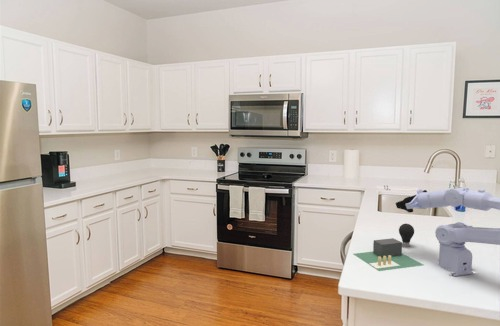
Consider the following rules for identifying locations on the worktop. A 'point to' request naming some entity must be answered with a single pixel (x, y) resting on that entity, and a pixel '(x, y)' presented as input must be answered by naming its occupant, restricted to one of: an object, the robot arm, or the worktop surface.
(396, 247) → the plug housing
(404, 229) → the light bulb
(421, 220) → the worktop surface
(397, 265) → the header board
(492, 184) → the worktop surface
